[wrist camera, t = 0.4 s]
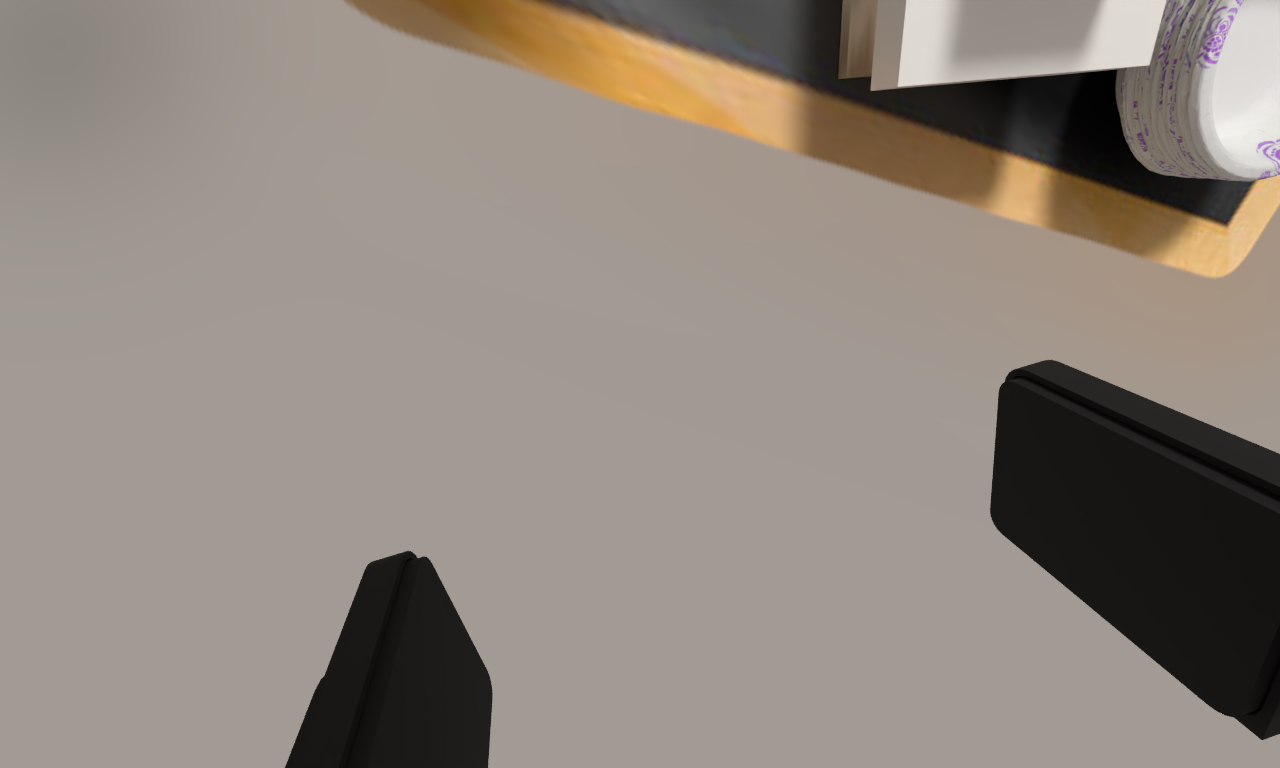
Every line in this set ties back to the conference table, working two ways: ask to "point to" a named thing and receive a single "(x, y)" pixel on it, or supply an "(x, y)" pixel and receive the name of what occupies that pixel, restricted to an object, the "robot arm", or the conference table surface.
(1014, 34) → the lid
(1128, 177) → the conference table surface
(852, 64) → the box
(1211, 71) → the paper bowls
